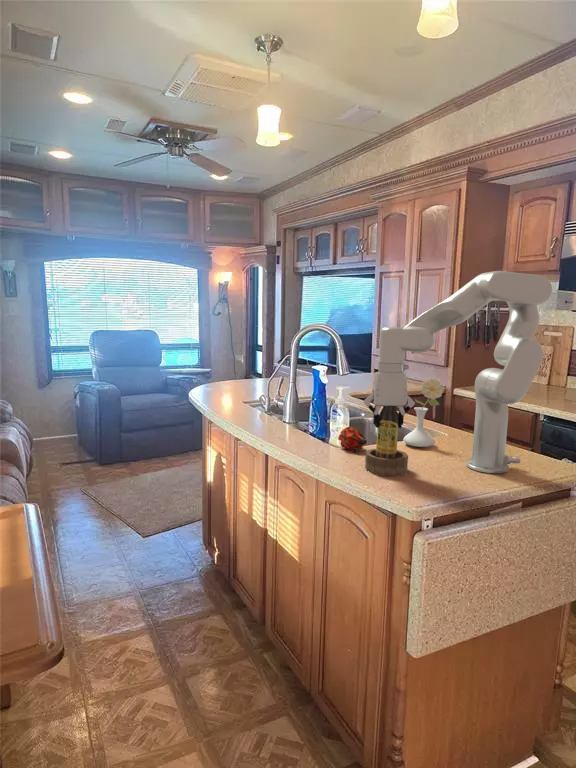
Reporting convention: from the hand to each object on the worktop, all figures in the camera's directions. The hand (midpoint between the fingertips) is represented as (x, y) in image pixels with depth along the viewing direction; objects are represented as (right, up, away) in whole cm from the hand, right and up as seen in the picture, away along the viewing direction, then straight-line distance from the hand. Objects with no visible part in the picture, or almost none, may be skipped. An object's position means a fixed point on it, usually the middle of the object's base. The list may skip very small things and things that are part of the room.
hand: (387, 426), depth 153 cm
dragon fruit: (-8, -10, +25) cm, 28 cm away
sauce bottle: (0, -10, +1) cm, 10 cm away
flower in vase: (+18, -10, +31) cm, 37 cm away
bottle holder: (0, -14, +2) cm, 14 cm away
